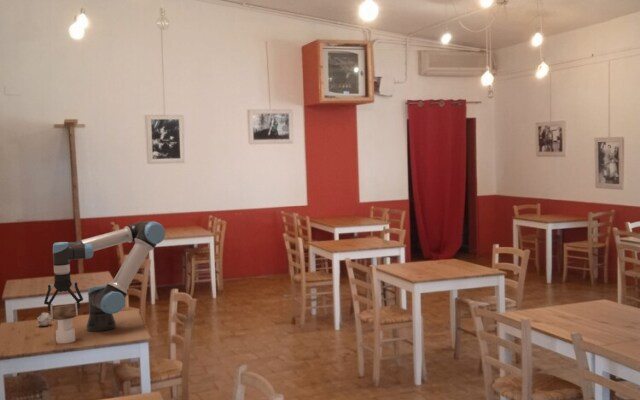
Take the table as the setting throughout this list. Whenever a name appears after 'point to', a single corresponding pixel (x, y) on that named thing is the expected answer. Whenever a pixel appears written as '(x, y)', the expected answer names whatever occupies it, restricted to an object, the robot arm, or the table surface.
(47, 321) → the game die
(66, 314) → the walnut lid
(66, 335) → the white stepped block
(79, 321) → the table surface
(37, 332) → the table surface
